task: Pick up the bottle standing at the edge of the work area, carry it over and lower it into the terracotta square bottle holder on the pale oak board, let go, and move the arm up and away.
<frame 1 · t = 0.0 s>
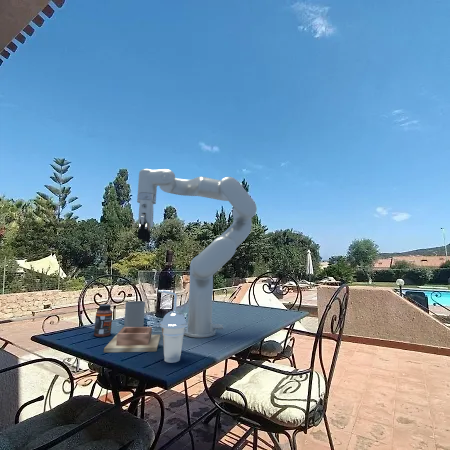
hand: (144, 240, 113), 37 cm above the table, tool pointing down, fingers open, 9 cm apart
bottle holder: (134, 344, 95), on the table
grey upright block: (133, 326, 123), on the table
cup with straw: (171, 360, 81), on the table
supplement bottle: (102, 335, 106), on the table
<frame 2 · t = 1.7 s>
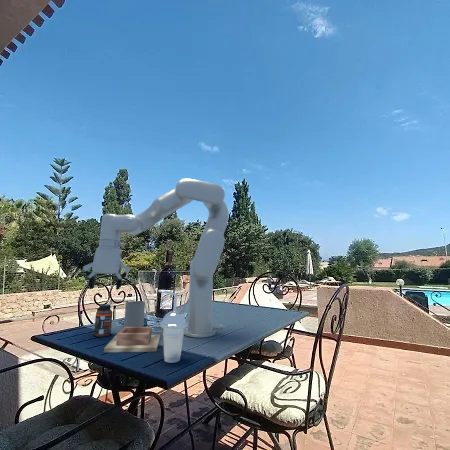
hand: (104, 288, 108), 17 cm above the table, tool pointing down, fingers open, 9 cm apart
nothing on the table moved.
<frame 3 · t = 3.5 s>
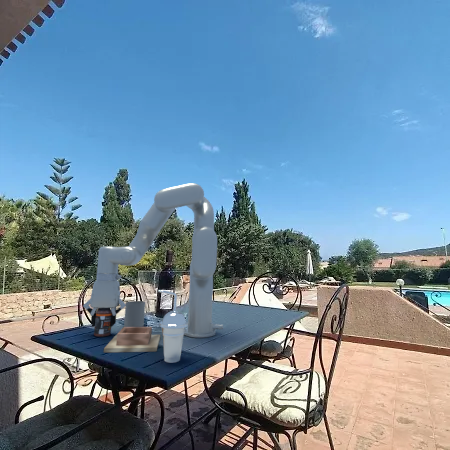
hand: (103, 325, 106), 4 cm above the table, tool pointing down, fingers closed on supplement bottle, 5 cm apart
supplement bottle: (102, 335, 106), on the table, touching gripper
everything else where it was.
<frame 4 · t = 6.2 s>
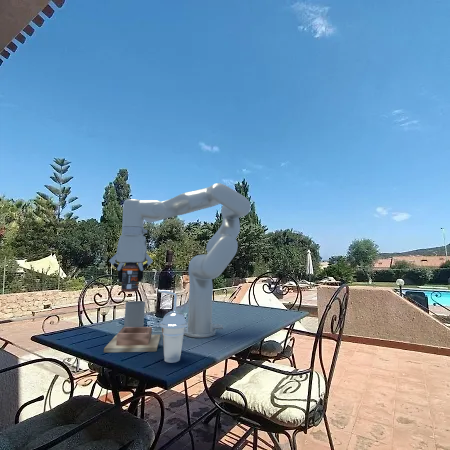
hand: (130, 281, 101), 21 cm above the table, tool pointing down, fingers closed on supplement bottle, 5 cm apart
supplement bottle: (129, 291, 101), point 17 cm above the table, touching gripper
everything else where it was.
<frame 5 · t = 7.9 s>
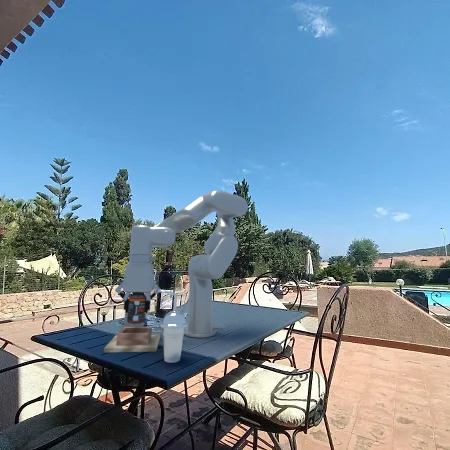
hand: (136, 311, 96), 11 cm above the table, tool pointing down, fingers closed on supplement bottle, 5 cm apart
supplement bottle: (136, 323, 96), point 7 cm above the table, touching gripper
everything else where it was.
when the fingers open (6 cm above the table, at t = 9.3 s): supplement bottle drops 1 cm, resting on bottle holder.
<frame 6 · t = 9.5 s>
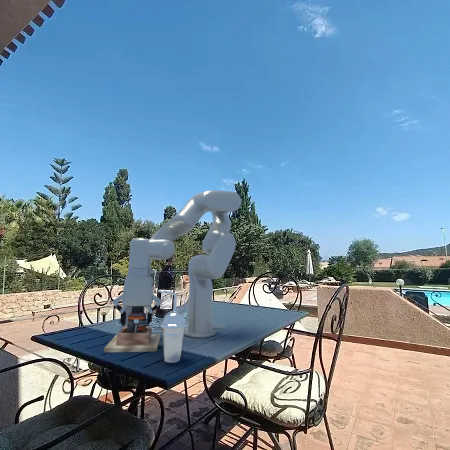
hand: (136, 324, 96), 7 cm above the table, tool pointing down, fingers open, 7 cm apart
supplement bottle: (135, 341, 95), point 1 cm above the table, touching bottle holder
everything else where it was.
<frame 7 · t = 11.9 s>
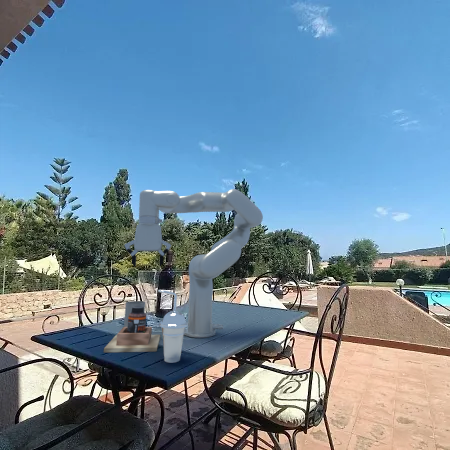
hand: (147, 266, 106), 26 cm above the table, tool pointing down, fingers open, 9 cm apart
nothing on the table moved.
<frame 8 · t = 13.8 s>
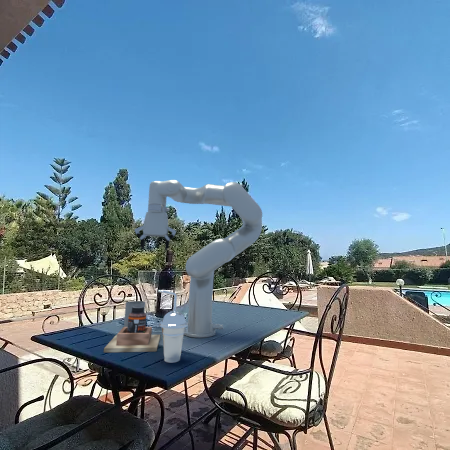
hand: (154, 249, 118), 33 cm above the table, tool pointing down, fingers open, 9 cm apart
nothing on the table moved.
at the end: supplement bottle 0.2 cm off-centre on the bottle holder, point 1.0 cm above the bottle holder's base; supplement bottle tilted 0°; the gripper is holding nothing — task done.
